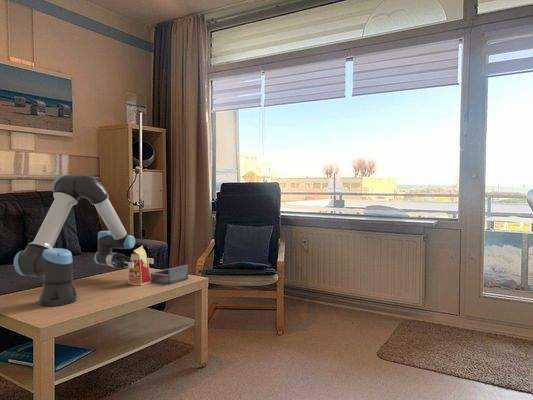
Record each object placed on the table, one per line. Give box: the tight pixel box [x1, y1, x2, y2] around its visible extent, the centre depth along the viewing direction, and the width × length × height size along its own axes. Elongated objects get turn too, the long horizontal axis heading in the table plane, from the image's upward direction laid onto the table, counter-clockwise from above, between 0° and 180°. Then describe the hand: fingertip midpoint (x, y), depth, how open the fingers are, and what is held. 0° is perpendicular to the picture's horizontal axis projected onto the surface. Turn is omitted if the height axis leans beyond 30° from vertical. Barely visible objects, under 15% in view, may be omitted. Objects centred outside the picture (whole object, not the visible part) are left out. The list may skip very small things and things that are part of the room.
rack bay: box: [150, 264, 189, 285], centre depth 220 cm, size 14×15×8 cm
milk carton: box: [128, 245, 152, 286], centre depth 213 cm, size 9×9×20 cm
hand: (143, 263), depth 212 cm, fingers open, 13 cm apart
